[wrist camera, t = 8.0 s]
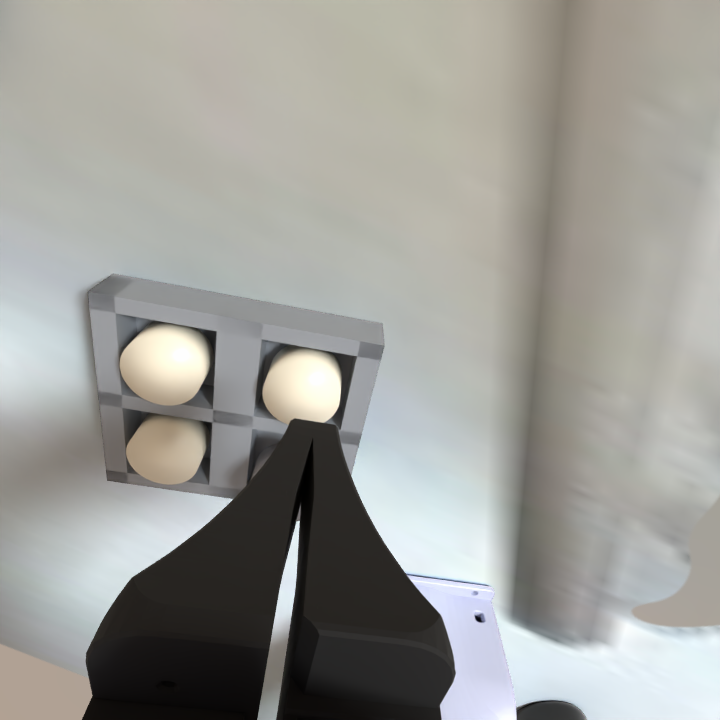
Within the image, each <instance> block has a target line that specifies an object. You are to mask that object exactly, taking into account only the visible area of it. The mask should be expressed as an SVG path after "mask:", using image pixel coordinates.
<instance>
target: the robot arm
mask: <svg viewBox="0 0 720 720" xmlns="http://www.w3.org/2000/svg"><path fill="white" fill-rule="evenodd" d="M300 505H301V510H300V528H299V546H298V564H297V579H296V590H295V597H294V604H293V611H292V618H291V624H290V631H289V638H288V645H287V652H286V658H285V665H284V672H283V679H282V685H281V692H280V699H279V705H278V712H277V719H276V720H517V715H516V702H515V694H514V688H513V684H512V680H511V676H510V672H509V668H508V664H507V660H506V656H505V652H504V648H503V644H502V640H501V636H500V632H499V628H498V624H497V621H496V617H495V613H494V609H493V605H492V599H493V597H494V595H495V593H494V589H493V588H492V587H490V586H483V585H476V584H468V583H461V582H453V581H446V580H439V579H431V578H424V577H416V576H409V575H406V573H405V572H404V571H403V569H402V568H401V567H400V565H399V564H398V562H397V561H396V559H395V558H394V556H393V555H392V554H391V552H390V551H389V549H388V548H387V546H386V545H385V543H384V542H383V540H382V538H381V537H380V535H379V533H378V532H377V530H376V528H375V526H374V525H373V523H372V521H371V519H370V517H369V515H368V513H367V511H366V509H365V507H364V505H363V503H362V501H361V499H360V497H359V494H358V492H357V490H356V487H355V485H354V482H353V480H352V477H351V474H350V471H349V469H348V466H347V463H346V460H345V457H344V453H343V449H342V445H341V441H340V436H339V428H338V427H337V426H336V425H334V424H328V423H321V422H315V421H309V420H302V419H296V418H294V419H292V420H291V421H290V423H289V425H288V428H287V430H286V432H285V433H284V435H283V437H282V439H281V440H280V442H279V443H278V445H277V447H276V448H275V450H274V451H273V452H272V454H271V455H270V457H269V458H268V459H267V461H266V462H265V464H264V465H263V466H262V467H261V469H260V470H259V471H258V472H257V473H256V475H255V476H254V477H253V478H252V480H251V481H250V482H249V483H248V484H247V485H246V487H245V488H244V489H243V490H242V491H241V492H240V493H239V494H238V495H237V496H236V497H235V498H234V499H233V500H232V501H231V502H230V503H229V504H228V505H227V506H226V507H225V508H224V509H223V510H222V511H221V512H220V513H219V514H218V515H216V516H215V517H214V518H213V519H212V520H211V521H210V522H209V523H208V524H206V525H205V526H204V527H203V528H202V529H200V530H199V531H198V532H197V533H195V534H194V535H193V536H191V537H190V538H189V539H187V540H186V541H185V542H184V543H182V544H181V545H180V546H178V547H177V548H176V549H174V550H173V551H172V552H170V553H169V554H167V555H166V556H164V557H163V558H161V559H160V560H158V561H157V562H155V563H154V564H152V565H151V566H149V567H148V568H146V569H145V570H143V571H141V572H140V573H138V574H137V575H135V576H134V577H132V578H131V580H130V581H129V582H128V583H127V585H126V586H125V587H124V589H123V590H122V591H121V593H120V594H119V595H118V597H117V598H116V600H115V601H114V603H113V604H112V606H111V607H110V609H109V611H108V612H107V614H106V615H105V617H104V619H103V620H102V622H101V624H100V626H99V628H98V630H97V632H96V634H95V636H94V638H93V640H92V642H91V644H90V646H89V648H88V650H87V652H86V666H87V671H88V676H89V680H90V685H91V690H92V695H93V696H92V698H91V701H90V703H89V705H88V707H87V710H86V712H85V714H84V717H83V719H82V720H257V717H258V711H259V705H260V700H261V694H262V688H263V682H264V676H265V670H266V664H267V658H268V653H269V647H270V641H271V635H272V629H273V623H274V617H275V612H276V606H277V600H278V594H279V588H280V584H281V579H282V575H283V571H284V567H285V563H286V559H287V555H288V551H289V548H290V544H291V540H292V536H293V532H294V528H295V525H296V521H297V517H298V513H299V509H300Z"/></svg>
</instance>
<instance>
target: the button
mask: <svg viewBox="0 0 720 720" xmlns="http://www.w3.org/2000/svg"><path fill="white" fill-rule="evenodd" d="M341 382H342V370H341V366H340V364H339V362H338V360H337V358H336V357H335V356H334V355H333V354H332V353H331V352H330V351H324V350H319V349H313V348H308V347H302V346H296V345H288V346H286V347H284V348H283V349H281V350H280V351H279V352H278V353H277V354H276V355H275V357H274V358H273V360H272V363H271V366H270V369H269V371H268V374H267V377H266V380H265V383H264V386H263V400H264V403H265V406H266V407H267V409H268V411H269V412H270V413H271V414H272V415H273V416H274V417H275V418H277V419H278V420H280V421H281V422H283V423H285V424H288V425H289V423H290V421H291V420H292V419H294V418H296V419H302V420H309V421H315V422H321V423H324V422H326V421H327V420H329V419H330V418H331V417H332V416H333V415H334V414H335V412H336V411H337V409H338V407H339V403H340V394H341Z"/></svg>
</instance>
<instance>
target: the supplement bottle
mask: <svg viewBox="0 0 720 720" xmlns="http://www.w3.org/2000/svg"><path fill="white" fill-rule="evenodd" d="M516 715H517V720H587V718H586V716H585V715H584V713H583V712H582V711H581V710H580V709H579V708H577V707H576V706H574V705H572V704H569V703H565V702H558V701H546V702H539V703H534V704H531V705H528V706H526V707H524V708H522V709H520V710H519V711H518V712H517V713H516Z"/></svg>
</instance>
